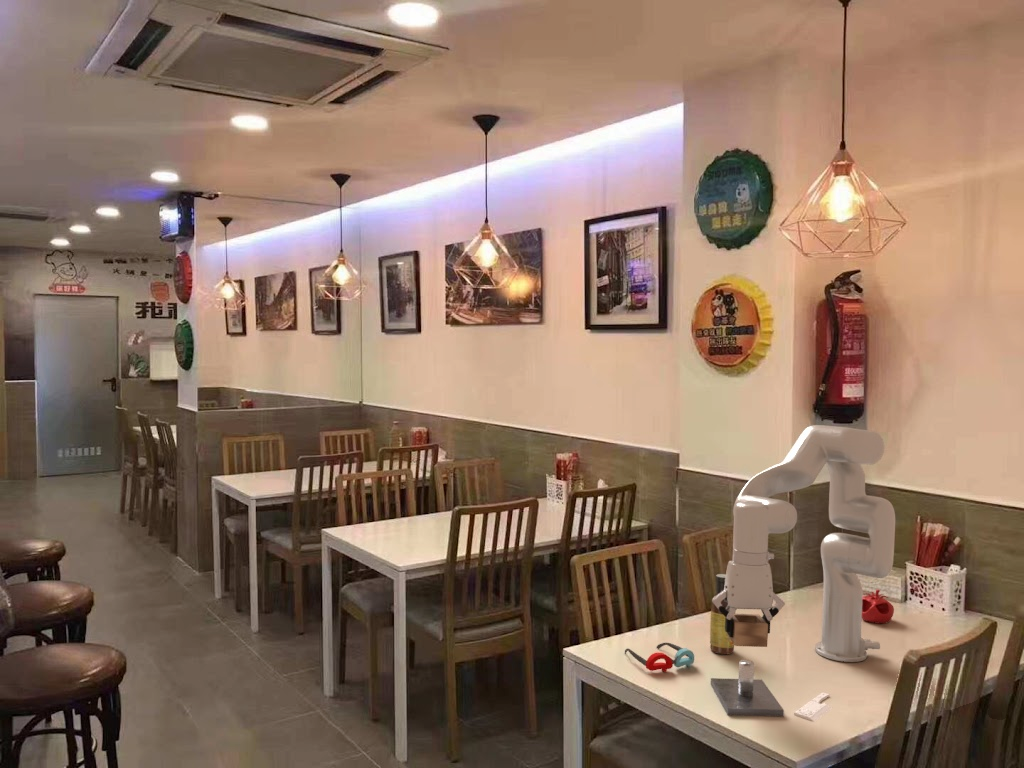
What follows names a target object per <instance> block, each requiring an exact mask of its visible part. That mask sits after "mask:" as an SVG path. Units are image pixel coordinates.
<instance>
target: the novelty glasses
mask: <svg viewBox="0 0 1024 768" xmlns="http://www.w3.org/2000/svg"><path fill="white" fill-rule="evenodd" d="M664 646H668V647H670V648H672V649H673V650H675V651H677V652H675V656H674V659H672V657H670V656H669V655H667V654H665V653H664V652H654V653H652V654H651V655H650V656H649V657H648V658H647V659H644V657H642V656H641V655H639V654H638V653H637V652H634V651H633V650H632V649H630V648H628V647H627V648H626V649H625V650H624V655H626V654H627V652H628V653H629V654H630V655H631V656H632V657H633V658H634V659H636V660H637V661H638V662H639V663H641V664H643V666H645V668H646V670H649V671H651V672H652V671H657V670H661V671H663V672H664V673H667V672H668V670H671V669H672V668H673V665H674V667H675V668H682V667H683V666H686V667H688V668H690V669H691V665H693V664H694V663H695V653H694V652H693V651H692V650H690V649H688V648H686V647H685V648H684V647H683V648H682V647H681V646H678V645H676V644H673V643H670V642H662V643H659V644H657V645H656V649H657V648H658V650H659V649H661V648H662V647H664ZM685 656H686V657H685ZM659 660H664V661H665V662H657V661H659Z"/></svg>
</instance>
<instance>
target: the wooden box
mask: <svg viewBox="0 0 1024 768" xmlns="http://www.w3.org/2000/svg"><path fill="white" fill-rule="evenodd" d="M762 617H763V616H762V615H760V614H758V613H754V614H753V613H735V614H734V615H733V620H734V629H733V637H730V636H729V635H728V634H727V635H728V636H729V638H730V639H731V641H732V642H733V643H734V647H757V648H758V647H759V648H760V647H761V648H763V647H764V648H768V640H769V639H768V637H769V633H768V624H767V623H766V622H765V621H764V619H763V618H762Z"/></svg>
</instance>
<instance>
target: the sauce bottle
mask: <svg viewBox="0 0 1024 768" xmlns="http://www.w3.org/2000/svg"><path fill="white" fill-rule="evenodd" d="M725 577H726V573H718V574H716V575H715V582H716V588H715V593H714V595H713V596H712V599H713V598H714V597H715V596H717V595H718V594H719V593H720V592H722V591H723V590H724V585H725ZM721 604H722V606H723V607H724V608H725V609H726V607H727V606H728V603H727V602H725V601H724V599H723V600H722V601H721ZM710 607H711V609H710V626H709V627H710V628H709V629H710V630H709V631H710V635H709V636H710V637H709V644H710V646H709V647H710V651H712V652H713V653H716V654H719V655H730V654H733V652H734V649H735V645H734V643H733V642H732V641H731V639H730V638H729V636H728V635H727V632H726V631H725V616H724V615H723V614H722V613H721V612H720V611H719V609H718V608H717V607H716V606H715V604H714V603H713V602H712V601H711V605H710ZM734 614H736V612H735V613H734Z"/></svg>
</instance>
